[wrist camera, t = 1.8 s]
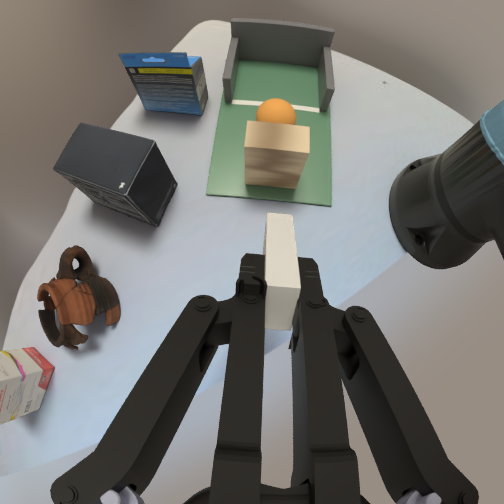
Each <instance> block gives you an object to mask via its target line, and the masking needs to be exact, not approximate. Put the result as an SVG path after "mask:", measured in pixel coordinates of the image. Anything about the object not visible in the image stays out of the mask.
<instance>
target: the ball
mask: <svg viewBox="0 0 504 504" xmlns="http://www.w3.org/2000/svg"><path fill="white" fill-rule="evenodd" d="M256 121H260V122H271V123H281V124H290V125H295V124H296V113H295V110H294V108H293V107H292V105H291V104H290V103H288V102H287V101H285V100H283V99H278V98H273V99H269V100H266V101H265V102H263V103H262V104H261V105H260V106H259V108H258V109H257V112H256Z"/></svg>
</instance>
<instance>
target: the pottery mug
mask: <svg viewBox="0 0 504 504" xmlns="http://www.w3.org/2000/svg"><path fill="white" fill-rule="evenodd" d="M74 258H75V259H77V261H78V262H79V267H78V268H77V269H75V270H74V269H73V265H72V262H73V259H74ZM56 277H57V279H55V277H54V278H52V279H51V280H50V282H49V283H43V284H42V285H41V286H40V287H39V290H38V295H37V299H38V301H44V308H45V310H38V312H39V318H40V322H41V325H42V327H43V330H44V332H45V334H46V336H47V338H48V339H49V341H50V342H51V343H52V344H53V345H54V346H56V347H60V346H62V345H64V346H65V347H68V348H71V349H76V350H77V349H78V347H77V346H74V345H78V344H80V343H81V344H83V343H85V342H86V341H87V339H88V336H87V335H84V334H81V333H80V332H79V331H78V330H77V329H76V328H75V327H74V326H73V324H76V325H86V326H88V325H89V324H91V323H92V322H93V320H94V316H95V315H98V314H100V313H102V312H104V311H105V314H106V325H108V326H110V325H112V324H114V323H116V322H118V321H119V319H120V308H119V301H118V298H117V294H116V292H115V289H114V287H113V285H112V284H111V283H110V282H109V281H108V280H107V279H106V278H102V277H100V276H97V275H95V271H94V270H93V266H92V262H91V259H90V257H89V255H88V254H87V252H86V251H85V250H84V249H83V248H82V247H79V246H77V245H75V246H73V247H71V248H70V247H69V248H67V249H66V250H65V251H64V252H63V253H62V255H61V258H60V263H59V271H58V273H57V275H56ZM75 279H77V280H80V281H83V282H82V283H80V284H78V285H77V282H76V281H75ZM49 294H50V296H49ZM55 309H56V310H57V313H58V318H59V323H60V332H59V330H58V328H57V326H56V322H55V311H54V310H55Z"/></svg>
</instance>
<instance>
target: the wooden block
mask: <svg viewBox="0 0 504 504" xmlns="http://www.w3.org/2000/svg"><path fill="white" fill-rule="evenodd" d="M309 153H310V127H307V126H299V125H290V124H281V123H271V122H260V121H247V128H246V136H245V145H244V157H245V184H249V185H260V186H271V187H281V188H291V189H296V187H297V184H298V181H299V179H300V176H301V174H302V171H303V169H304V166H305V163H306V161H307V158H308V156H309Z"/></svg>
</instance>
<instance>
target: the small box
mask: <svg viewBox="0 0 504 504" xmlns="http://www.w3.org/2000/svg"><path fill="white" fill-rule="evenodd" d="M53 170H55V171H56V172H57V173H59V174H60V175H62V176H63V177H64V178H66V179H67V180H68V181H70V182H71V183H72V184H73V185H74V186H76V187H77V188H78V189H79V190H81V191H82V192H83V193H84V194H85V195H87V196H88V197H89V198H90V199H91V200H92V201H93V202H96V203H98V204H100V205H103V206H105V207H108V208H110V209H112V210H115V211H117V212H120V213H123V214H125V215H127V216H129V217H132V218H135V219H137V220H140V221H142V222H145V223H148V224H150V225H153V226H155V227H157V226H158V225H159V223H160V221H161V217H162V216H163V213H164V211H165V209H166V207H167V205H168V203H169V201H170V199H171V197H172V196H173V193H174V191H175V188H176V186H177V182H176V180H175V179H174V177H173V175H172V173H171V171H170V169H169V168H168V166H167V164H166V162H165V160H164V158H163V156H162V154H161V152H160V150H159V148H158V146H157V144H156V142H155V141H154V140H151V139H147V138H143V137H139V136H135V135H131V134H127V133H123V132H119V131H115V130H111V129H107V128H103V127H98V126H94V125H90V124H85V123H80V124H79V126H78V127H77V129H76V130H75V132H74V133H73V135H72V137H71V138H70V140H69V141H68V143H67V145H66V146H65V148H64V150H63V152H62V153H61V155H60V157H59V159H58V161H57V162H56V164H55V166H54V167H53Z"/></svg>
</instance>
